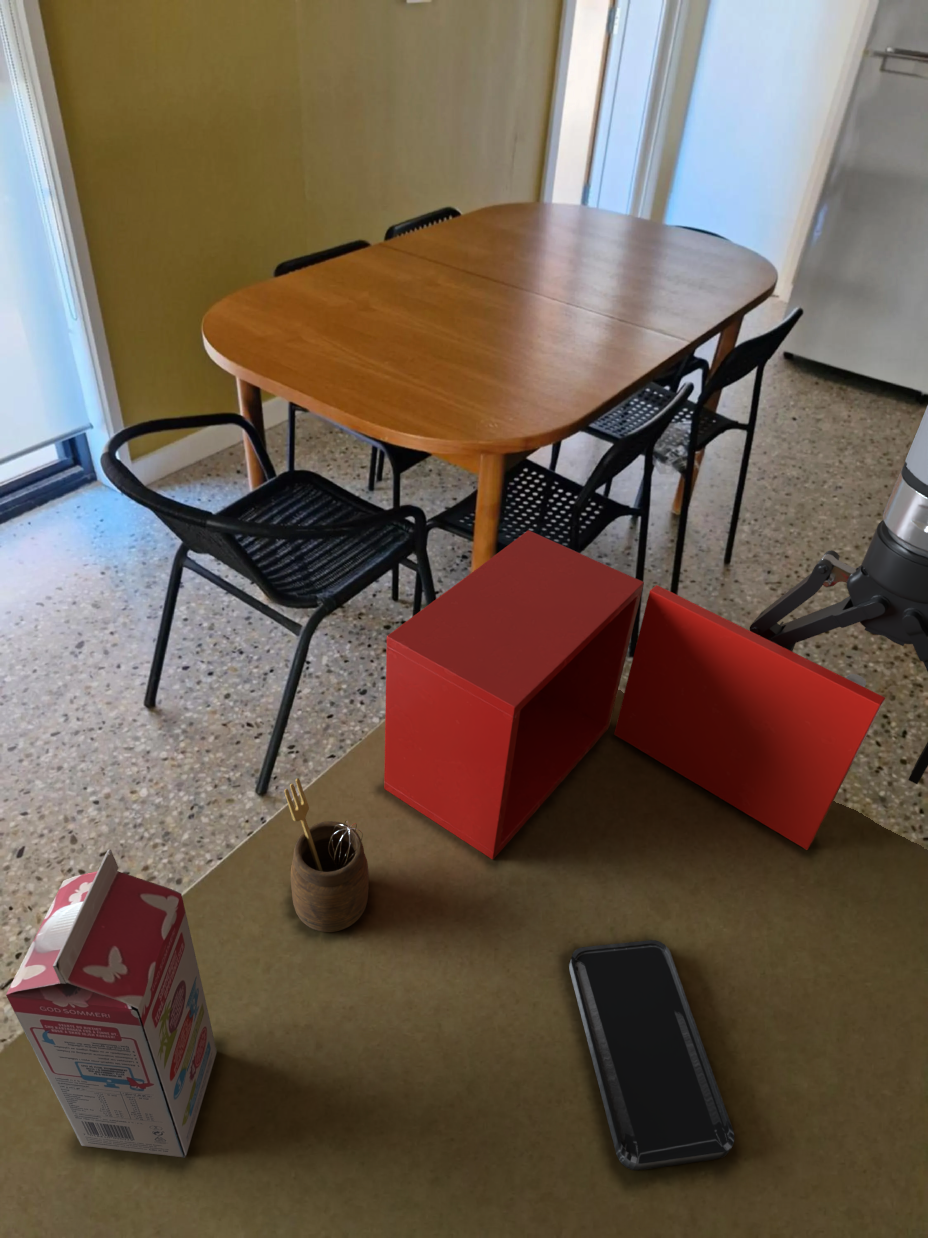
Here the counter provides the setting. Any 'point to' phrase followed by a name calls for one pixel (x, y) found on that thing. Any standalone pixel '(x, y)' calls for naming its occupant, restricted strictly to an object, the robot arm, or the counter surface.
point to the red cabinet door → (743, 715)
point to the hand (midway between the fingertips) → (838, 736)
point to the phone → (648, 1057)
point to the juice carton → (118, 1012)
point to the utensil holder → (327, 871)
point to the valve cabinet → (505, 687)
